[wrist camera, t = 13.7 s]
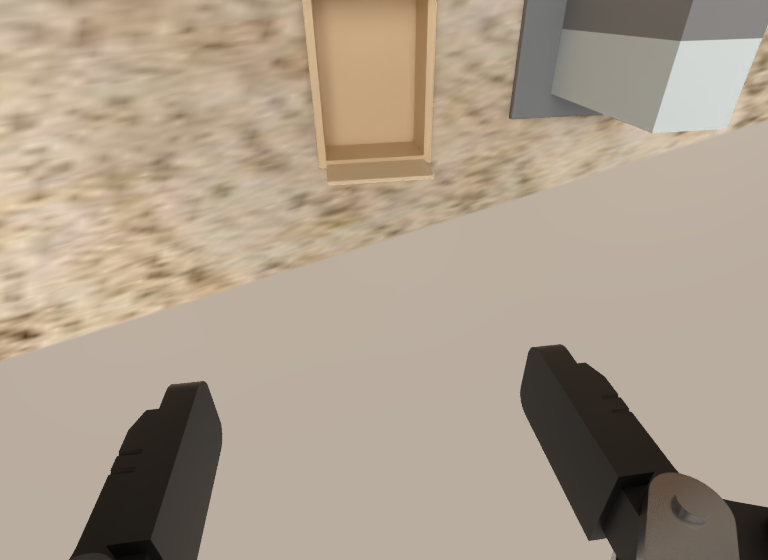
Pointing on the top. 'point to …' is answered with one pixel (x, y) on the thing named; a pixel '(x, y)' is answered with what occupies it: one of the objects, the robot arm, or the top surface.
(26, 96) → the top surface
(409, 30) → the carton
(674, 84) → the box
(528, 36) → the mat
